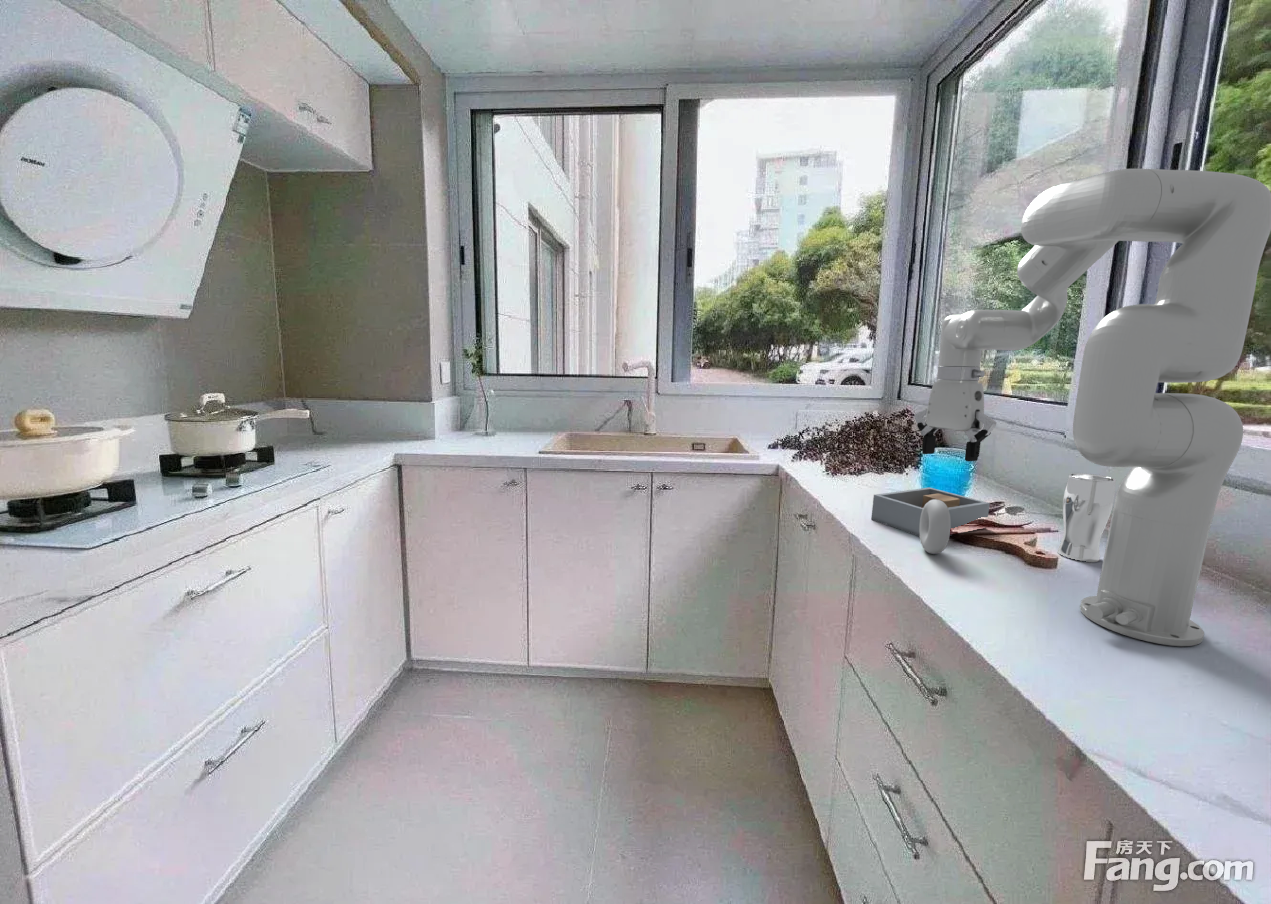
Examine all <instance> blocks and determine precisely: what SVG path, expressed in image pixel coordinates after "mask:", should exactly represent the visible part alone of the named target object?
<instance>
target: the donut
mask: <svg viewBox="0 0 1271 904" xmlns="http://www.w3.org/2000/svg"><path fill="white" fill-rule="evenodd" d="M950 528H951V520H950V513H949V510H948V507H947V506H946V504H945V503H944V502H942V501H940V500H937V499H933V500H930V501H929V502H927V503H926V504H925V506H924V508H923V510H922V513H921V518H920V528H919V533H920V536H919V541H920V544H921V546H922V549H924V551H926V552H927V553H928V554H931V555H938V554H940V553H942V552H944V550H945V549H946V547H947V546H948V543H949V541H950V536H951V535H950Z"/></svg>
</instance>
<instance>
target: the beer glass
mask: <svg viewBox="0 0 1271 904" xmlns="http://www.w3.org/2000/svg"><path fill="white" fill-rule="evenodd" d="M1116 482H1117V480H1116V478H1113V477H1110V476H1105V475H1100V474H1094V473H1087V472H1085V473H1083V472H1072V473H1071V472H1070V473H1069V474H1068V477H1067V482H1066V486H1065V490H1064V493H1063V500H1062V518H1063V519H1062V520H1063V534H1062V538H1061V541H1060V544H1059V545H1058V549H1057V554H1058V555H1060V554H1061V555H1063V556H1066V557H1068V558H1067V559H1069V558H1071V559H1070V560H1072V559H1075V560H1074V561H1077V560H1080V561H1079V562H1082V561H1086V562H1085V563H1098V562H1099V561H1100V558H1101V555H1100V545H1101V544H1100V542H1101V538H1102V536H1103V532H1104V530H1105V528H1106V527H1107V524H1108V521H1109V519H1110V516H1111V515H1112V514H1111V513H1112V512H1113V507H1114V503H1115V496H1116V494H1115V492H1116ZM1061 555H1060V556H1061ZM1063 556H1062V557H1063ZM1066 557H1065V558H1066Z"/></svg>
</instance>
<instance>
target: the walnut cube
mask: <svg viewBox="0 0 1271 904" xmlns="http://www.w3.org/2000/svg"><path fill="white" fill-rule="evenodd" d="M933 499H937V500H940V501H942V502H944V503H945V504H946V506H947V507H948V508H949V507H955V506H959V503H960V499H958V498H954V497H950V496H947V495H943V494H939V493H938V494H931V495H924V496H923V503H922V508H924V506H925V504H926V503H927V502H929V501H930V500H933Z"/></svg>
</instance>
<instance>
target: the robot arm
mask: <svg viewBox="0 0 1271 904" xmlns="http://www.w3.org/2000/svg"><path fill="white" fill-rule="evenodd" d="M1020 231H1021V236H1022V237H1023V239H1024V241H1026V242H1027V243H1028V244H1030V245H1032V246H1033V247H1032V248H1031V249H1030V250H1029V251H1028V252H1027V253H1026V254H1025V255H1024V256H1023V258H1021V259H1020V261H1019V263H1018V264H1017V269H1016V272H1017V276H1018V279H1019V281H1020V282H1021V284H1022V285H1023V286H1024V287H1025V288H1026V289H1027V290H1029V291H1030V292H1031V293H1033V294H1034V295H1036V296H1035V297H1034V298H1033V299H1032V300H1031V301H1030V302H1029V303H1028V304H1027V305H1026V306H1025V307H1024V308H1022V309H1021V310H1015V309H1013V310H1012V309H972V310H968V311H966V312H964V313H962V314H961V313H959V314H958V313H957V314H952V315H951V314H949V315H948V316H946V317H945V318H944V319H943V321H942V325H941V326H942V327H941V334H940V343H939V353H938V354H939V355H938V362H937V363H938V364H937V365H938V366H937V374H936V381H934V382H933V384H932V387H931V391H930V393H929V398H928V403H927V408H926V409H923V410H922V411H920V412H917V413H915V414H914V419H915V422H916V426H917V428H918V430H919V431H920V435H921V436H922V437H923V438H922V446H921V448H922V451H921V453H922V454H923V455H933V454H935V452H936V451H935V450H936V442H937V441H936V439H937V436H936V435H935V433H937V431H938V430H947V431H952V432H953V431H954V432H964V433H965V435H966V436H967V438H968V439H969V441H967V442H966V446H965V453H964V461H965V462H976V461H978V458H979V456H980V450H981V443H982V442H984V440H986V438H987V437H989V436H990V435H991V433H992V431H993V430H994V428H995V427H996V426H997V421H996V420H994V419H992V418H991V417H989V416H988V415H986V414H985V394H984V385H983V383H982V382H981V383H980V382H979V380H980V378H984V377H985V373H986V372H985V371H984V370H981V360H982V353H983V352H982V351H992V350H993V351H994V350H995V351H1020V350H1024V349H1027V348H1029V347H1031V346H1032V345H1034V344H1035V343H1037V342H1038V341H1039V340H1041V339H1042V338H1043V337H1045V336H1046V334H1047V333H1049V332H1050V331H1051V330H1052V329H1053V328H1054V327H1055V326H1056V325H1057V324H1058V323H1059V321H1060V320H1061V318H1062V316H1063V314H1064V312H1065V309H1066V306H1067V302H1068V289H1069V288H1070V286H1071V285H1073V283H1075V282H1076V281H1077V280H1078V279H1079V278H1080V277H1081V276H1083V274H1084V273H1086V272H1087V271H1088V270H1089V269H1091V267H1092V266H1093V265H1095V263H1097V262H1098V260H1100V259H1101V258H1102V257H1103V256H1104V255H1105V254H1106V253H1108V251H1110V250H1111V249H1112V248H1113V247H1114V246H1115V245H1116V244H1117V243H1119V242H1121V241H1122V242H1141V243H1142V242H1143V243H1145V242H1146V243H1150V242H1157V243H1158V242H1159V243H1161V242H1163V243H1177V244H1181V245H1180V246H1179V247H1178V248H1177V249H1176V250H1175V251H1174V252H1173V254H1172V255H1171V256H1170V258H1169V259H1168V260H1167V262H1166V263H1165V266H1164V267H1163V268H1162V271H1161V273H1160V276H1159V279H1158V287H1157V293H1156V297H1155V298H1156V299H1155V302H1154V303H1152V304H1151V303H1140V304H1138V303H1137V304H1132V305H1131V304H1130V305H1127V306H1123V307H1120V308H1117V309H1115V310H1113V311H1111V312H1110V313H1108V314H1107V315H1105V316H1104V317H1102V319H1101V320H1099V322H1098V323H1097V324H1096V326H1094V328H1093V329H1092V331H1091V333H1090V334H1089V336H1088V339H1087V341H1086V343H1085V347H1084V351H1083V356H1082V361H1081V367H1080V374H1079V378H1078V379H1079V380H1078V387H1077V393H1076V399H1075V400H1076V401H1075V407H1074V415H1073V420H1072V435H1073V436H1072V437H1073V441H1074V444H1075V447H1076V449H1077V451H1078V452H1079V453H1080V455H1081V456H1082V457H1083V458H1084V459H1086V460H1087V461H1089V462H1091V463H1092V464H1095V465H1098V466H1103V467H1107V468H1130V469H1128V471H1127V473H1126V474H1125V476H1124V478H1122V480H1121V482H1120V484H1119V486H1118V489H1117V492H1116V494H1115V497H1114V503H1113V507H1112V511H1111V513H1112V514H1111V518H1110V524H1109V528H1108V534H1107V540H1106V543H1105V544H1106V545H1105V549H1104V556H1103V561H1102V565H1101V572H1100V576H1099V582H1098V586H1097V591H1096V592H1097V593H1096V595H1093V596H1091V595H1090V596H1088V597H1084V598H1083V599H1082V600H1081V601H1080V605H1079V610H1080V611H1081V613H1082V614H1083V616H1085V617H1086V618H1088V619H1089V620H1090V621H1091V622H1093V623H1095V624H1097V625H1099V626H1101V627H1103V628H1105V629H1108V630H1110V631H1112V632H1115V633H1118V634H1121V635H1123V636H1125V637H1129V638H1133V639H1136V640H1141V641H1144V642H1148V643H1154V644H1157V645H1165V646H1170V647H1171V646H1173V647H1174V646H1175V647H1191V646H1197V645H1199V644H1201V643H1203V640H1204V635H1205V631H1204V630H1203V628H1202V627H1201V626H1199V624H1198V623H1196V622H1195V621H1194V620H1191V615H1192V611H1193V610H1192V609H1193V607H1194V601H1195V597H1196V592H1197V589H1198V583H1199V578H1200V574H1201V570H1202V567H1203V561H1204V558H1205V553H1206V547H1207V543H1208V540H1209V536H1210V532H1211V531H1210V530H1211V525H1212V524H1213V518H1214V516H1215V510H1216V506H1217V503H1218V499H1219V495H1220V493H1221V492H1220V491H1221V488H1222V487H1223V483H1224V481H1225V478H1226V476H1227V474H1228V472H1229V469H1230V468H1231V466H1232V464H1233V462H1234V460H1235V459H1236V457H1237V455H1238V452H1239V451H1240V448H1241V446H1242V442H1243V437H1244V425H1243V422H1242V419H1241V417H1240V416H1239V414H1238V412H1237V411H1236V410H1235V409H1234V408H1233V407H1232V406H1231V405H1229V404H1227V403H1226V402H1225V401H1222V400H1220V399H1218V398H1215V397H1212V396H1207V395H1203V394H1198V393H1196V394H1195V393H1182V392H1181V393H1180V392H1179V393H1174V392H1170V393H1169V392H1167V393H1166V392H1157V388H1158V383H1168V384H1169V383H1170V384H1171V383H1173V384H1177V383H1180V384H1181V383H1183V384H1184V383H1185V384H1187V383H1202V382H1209V381H1213V380H1218V379H1220V378H1222V377H1224V376H1226V375H1227V374H1229V373H1231V371H1233V369H1235V367H1236V366H1237V364H1238V362H1239V360H1240V358H1241V356H1242V352H1243V349H1244V345H1245V340H1246V334H1247V330H1248V325H1249V320H1250V315H1251V311H1252V305H1253V300H1254V298H1255V297H1254V296H1255V290H1256V286H1257V278H1258V277H1257V276H1258V272H1259V269H1260V264H1261V260H1262V258H1263V257H1262V256H1263V253H1264V251H1265V249H1266V245H1267V241H1268V239H1269V237H1270V233H1271V191H1270V189H1269V187H1267V186H1266V185H1265V184H1264V183H1263V182H1261V181H1259V180H1257V179H1255V178H1254V177H1253V178H1252V177H1249V176H1246V175H1242V174H1237V173H1230V172H1219V171H1209V170H1192V169H1191V170H1190V169H1189V170H1188V169H1187V170H1186V169H1157V168H1123V169H1116V170H1111V171H1105V172H1103V173H1097V174H1095V175H1091V176H1087V177H1086V176H1085V177H1083V178H1079V179H1075V180H1071V181H1066V182H1062V183H1058V184H1056V185H1053V186H1051V187H1049V188H1048V189H1046V190H1044V191H1042V192H1041V193H1040V194H1038V195H1037V197H1035V198H1034V199H1033V200H1032V202H1030V204H1029V206H1028V207H1027V208H1026V210H1025V211H1024V213H1023V216H1022V219H1021V226H1020ZM925 418H926V419H925Z"/></svg>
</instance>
